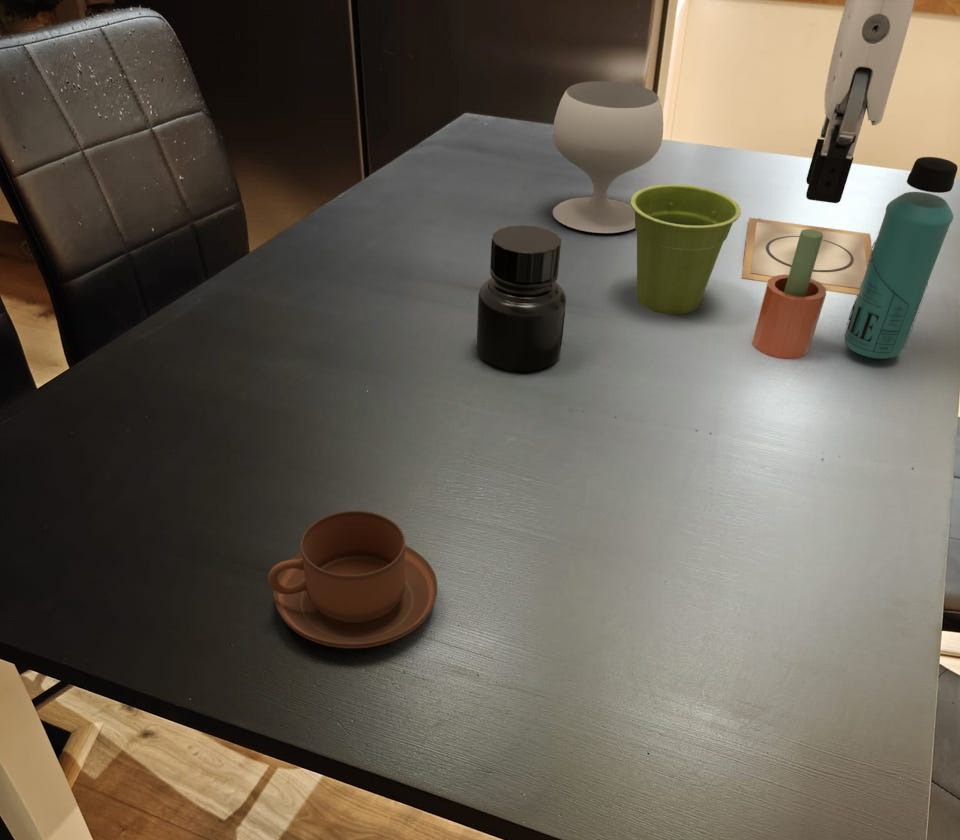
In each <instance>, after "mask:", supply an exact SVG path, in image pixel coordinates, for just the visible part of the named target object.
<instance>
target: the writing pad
mask: <svg viewBox="0 0 960 840" xmlns="http://www.w3.org/2000/svg"><path fill="white" fill-rule="evenodd" d="M805 229H813V230H817V231H820V232H821V233H822V234H823V238H822V242H821V245H820V248H819V252H818V255H817V258H816V262H815V265H814V269H813V272H812V275H811V279H813V280H815V281H817V282H819V283H821V284H822V285H823V286H824V287H825V288H826V292H833V293H838V294H846V295H854V296H857V295H858V294H859V290H860V286H861V284H860V283H862V281H863V278H864V275H865V272H866V269H867V266H868V263H869V262H868V261H869V260H870V258H869V255H871V254H870V253H872V251H871V250H872V249H873V248H872V246H873V244H872V237H871V233H867V232H862V231H861V232H859V231H852V230H845V229H837V228H830V227H823V226H815V225H807V224H802V223H801V224H800V223H794V222H792V223H791V222H784V221H777V220H771V219H761V218H756V217H755V218H754V217H749V218H748V223H747V230H746V238H745V245H744V253H743V261H742V271H741V279H742V280H747V281H748V280H749V281H754V282H763V283H767V281H768V280H769V279H770V278H772V277H774V276H778V275H789V273H790V269H791V266H792V262H793V258H794V255H795V251H796V248H797V244H798V240H799V237H800V233H801V231H802V230H805ZM867 262H868V263H867ZM866 264H867V265H866Z"/></svg>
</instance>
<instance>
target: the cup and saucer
mask: <svg viewBox="0 0 960 840" xmlns="http://www.w3.org/2000/svg"><path fill="white" fill-rule="evenodd" d="M434 571H435V570H434V569H433V568H432V566H431V565H430V563H429V562H428V561H427V559H425V557H424V556H422V555H421V554H420V553H419V552H417V551H416V550H414V549H413V548H410V547H409V546H407V545H406V538H405V534H404V532H403V531H402V529H401V528H400V526H399V525H398V524H397V523H395V522H394V521H393V520H391V519H390V518H388V517H386V516H384V515H382V514H379V513H377V512H373V511H366V510H347V511H346V510H345V511H344V510H343V511H339V512H333V513H331V514H328V515H326V516H322V517H321V518H319V519H318V520H316V521H314V522H313V523H312V524H311V525H309V527H307V529H306V530H305V531H304V533H303V534H302V537H301V539H300V552H298V553H297V554H296V555H294V556H292V557H291V558H290V559H288V560H283V561H280V562H278V563H276V564H275V565H274V566H272V568H271V569H270V570H269V572H268V576H267V582H268V585H269V587H270V588H271V589H272V590H273V598H274V603H275V606H276V607H275V608H276V609H277V611H278V613H279V615H280V617H281V618H282V620H283V621H284V623H286V625H287V626H288V627H289V628H290V629H292V630H293V631H294V632H295V633H296V634H298V635H299V636H301V637H303V638H305V639H306V640H309V641H311V642H313V643H317V644H320V645H323V646H327V647H331V648H332V647H333V648H339V649H340V648H341V649H366V648H372V647H377V646H381V645H382V646H383V645H386V644H388V643H391V642H394V641H396V640H399V639H401V638H403V637H405V636H406V635H408V634H410V633H412V632H413V631H414V630H415V629H417V628H418V627H419V626H420V625H421V624H423V622H424V621H425V620H426V619H428V617H429V615H430V614H431V612H432V610H433V608H434V606H435V603H436V600H437V595H438V581H437V576H436V573H435V572H434Z"/></svg>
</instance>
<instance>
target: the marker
mask: <svg viewBox="0 0 960 840" xmlns="http://www.w3.org/2000/svg"><path fill="white" fill-rule="evenodd" d="M822 238H823V234H822V233H821V232H820V231H817V230H813V229H805V230H802V231H801V233H800V237H799V240H798V244H797V248H796V251H795V255H794V258H793V262H792V266H791V269H790V273H789V276H788V280H787V284H786V287H785V291H784V293H786V294H789V295H793V296H799V297H805V296H806V292H807V289H808V286H809V282H810V279H811V275H812V272H813V269H814V265H815V262H816V258H817V255H818V252H819V248H820V245H821V242H822Z"/></svg>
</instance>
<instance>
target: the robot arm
mask: <svg viewBox="0 0 960 840" xmlns="http://www.w3.org/2000/svg"><path fill="white" fill-rule="evenodd" d="M914 4H915V0H845V3H844V7H843V11H842V14H841V19H840V22H839V26H838V29H837V34H836V38H835V42H834V45H833V50H832V54H831V58H830V63H829V67H828V73H827V78H826V83H825V89H824V114H825V118H824V121H823V125H822V128H821V131H820V132H821V133H820V136H819V138H817V140H816V143H815V146H814V150H813V154H812V158H811V161H810V165H809V168H808V172H807V176H806V179H805V180H806V184H807V185H808V186H807V189H806V192H805V193H806V194H805V198H806V199H807V200H810V201H816V202H824V203H831V204H838V203H840V202H841V200H842V197H843V194H844V190H845V187H846V184H847V181H848V177H849V174H850V171H851V168H852V164H853V161H854V153H855V149H856V146H857V142H858V139H859V135H860V132H861V128H862V127H863V122H864V119H865V116H866V113H867V120H868V121H870V123H871V125H872V126H877V125H879V124H880V123H881V122H882V121H883V117H884V113H885V110H886V107H887V103H888V99H889V96H890V92H891V89H892V85H893V82H894V79H895V75H896V72H897V68H898V64H899V62H900V58H901V54H902V50H903V48H904V43H905V40H906V36H907V33H908V30H909V26H910V22H911V17H912V12H913V9H914Z"/></svg>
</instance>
